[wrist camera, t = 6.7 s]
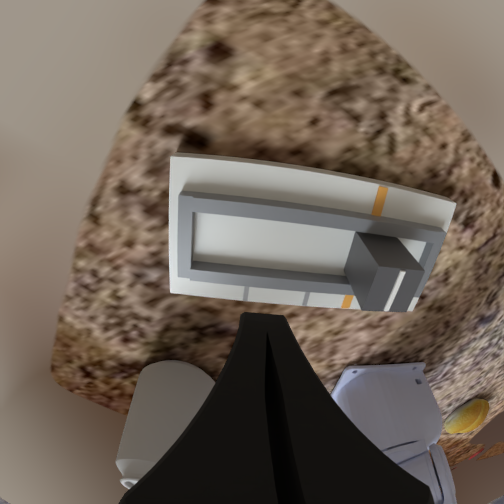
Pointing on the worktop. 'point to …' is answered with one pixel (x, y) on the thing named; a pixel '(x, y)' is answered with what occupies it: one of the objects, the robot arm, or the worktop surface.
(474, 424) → the bread roll
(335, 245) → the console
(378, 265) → the fader
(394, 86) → the worktop surface
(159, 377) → the can
